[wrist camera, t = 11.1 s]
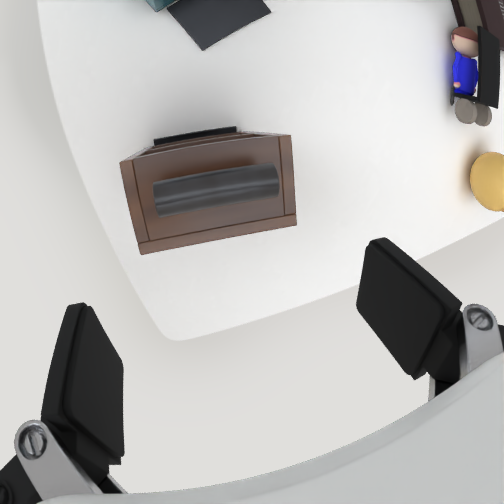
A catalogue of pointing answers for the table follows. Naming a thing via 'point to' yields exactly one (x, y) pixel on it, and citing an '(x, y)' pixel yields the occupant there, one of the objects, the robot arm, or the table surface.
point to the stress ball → (488, 180)
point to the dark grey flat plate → (215, 17)
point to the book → (481, 16)
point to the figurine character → (475, 74)
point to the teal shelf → (159, 4)
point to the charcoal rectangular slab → (194, 135)
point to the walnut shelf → (205, 163)
